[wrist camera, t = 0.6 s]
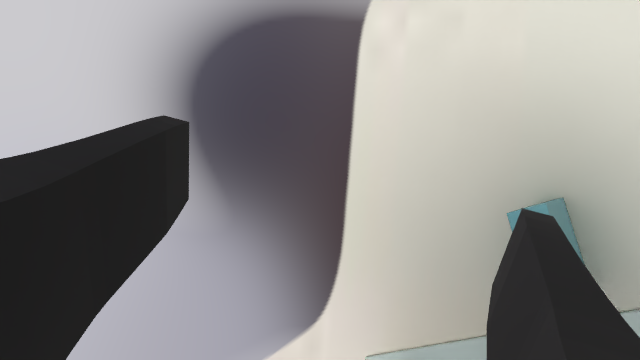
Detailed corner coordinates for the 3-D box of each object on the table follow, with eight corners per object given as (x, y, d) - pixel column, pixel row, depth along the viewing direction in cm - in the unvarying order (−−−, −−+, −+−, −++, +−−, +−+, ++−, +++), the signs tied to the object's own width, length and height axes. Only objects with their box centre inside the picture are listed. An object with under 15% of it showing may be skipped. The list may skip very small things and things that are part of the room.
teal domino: (563, 197, 32) (545, 203, 24) (591, 287, 31) (584, 325, 23) (533, 205, 33) (506, 213, 25) (560, 294, 32) (542, 332, 24)
